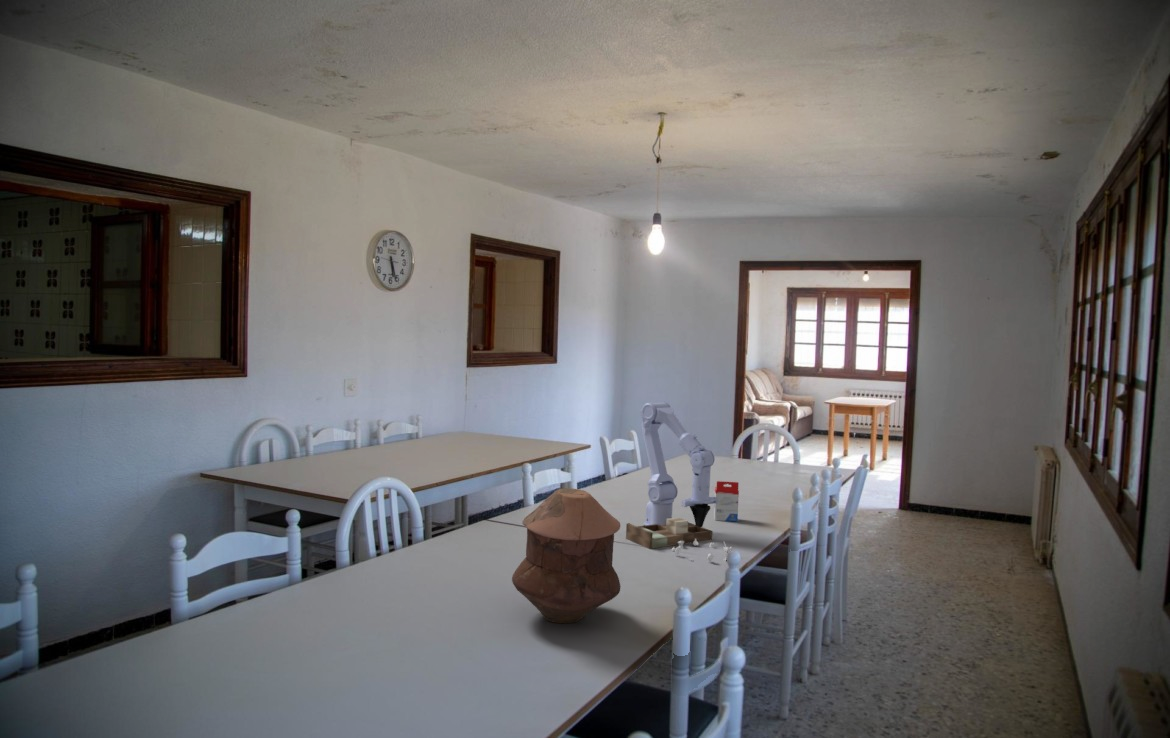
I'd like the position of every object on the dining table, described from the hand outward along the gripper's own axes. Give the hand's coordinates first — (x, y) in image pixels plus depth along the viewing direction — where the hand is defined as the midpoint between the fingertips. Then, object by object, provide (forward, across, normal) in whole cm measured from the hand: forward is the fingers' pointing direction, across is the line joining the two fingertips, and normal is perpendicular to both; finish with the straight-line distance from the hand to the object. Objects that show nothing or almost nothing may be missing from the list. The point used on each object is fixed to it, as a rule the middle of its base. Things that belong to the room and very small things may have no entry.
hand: (699, 526), depth 257 cm
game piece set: (+4, -11, -15) cm, 19 cm away
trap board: (+4, -11, +4) cm, 12 cm away
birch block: (+1, -10, 0) cm, 10 cm away
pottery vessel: (+4, -76, -42) cm, 87 cm away
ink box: (+4, +26, +16) cm, 31 cm away
